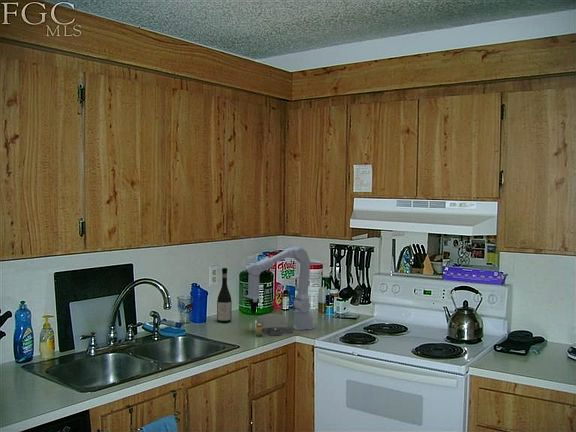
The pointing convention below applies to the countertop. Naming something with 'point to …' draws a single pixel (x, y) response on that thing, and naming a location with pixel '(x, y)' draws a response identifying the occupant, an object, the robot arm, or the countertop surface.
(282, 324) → the hinge
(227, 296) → the wine bottle
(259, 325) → the pin
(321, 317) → the countertop surface
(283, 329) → the lip
